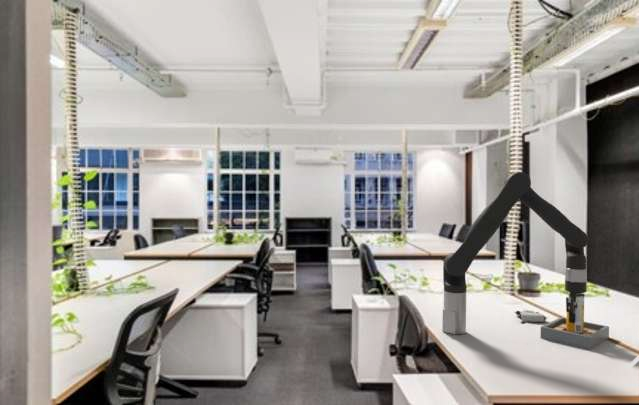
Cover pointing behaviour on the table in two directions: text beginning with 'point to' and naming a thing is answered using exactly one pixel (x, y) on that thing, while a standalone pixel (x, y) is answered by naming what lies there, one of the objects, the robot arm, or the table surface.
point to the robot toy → (530, 316)
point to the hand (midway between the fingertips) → (574, 320)
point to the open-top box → (573, 338)
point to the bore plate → (586, 332)
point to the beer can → (577, 317)
